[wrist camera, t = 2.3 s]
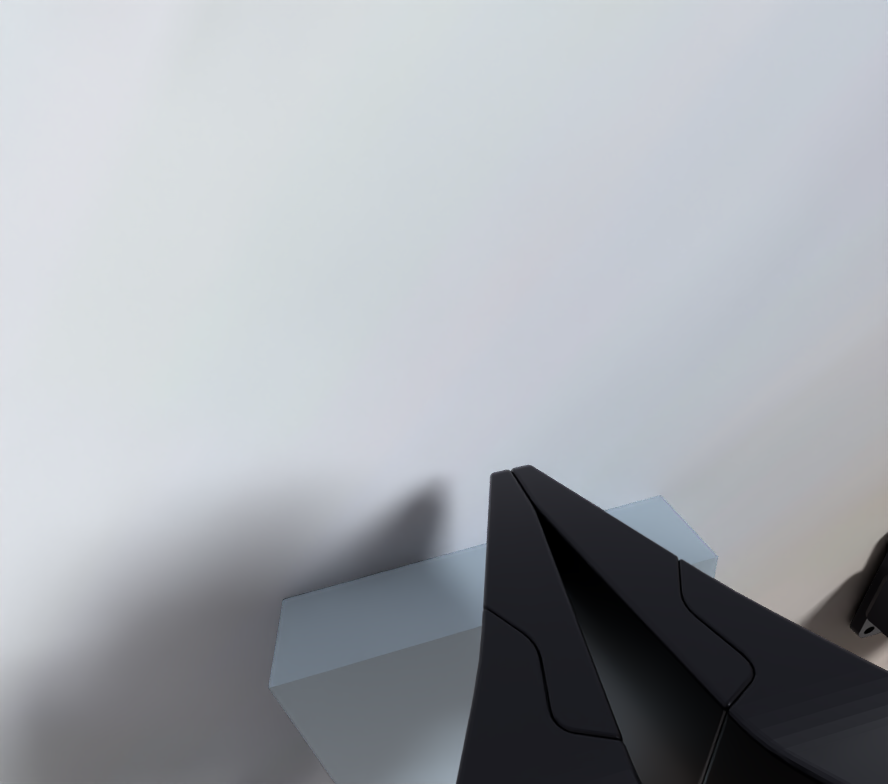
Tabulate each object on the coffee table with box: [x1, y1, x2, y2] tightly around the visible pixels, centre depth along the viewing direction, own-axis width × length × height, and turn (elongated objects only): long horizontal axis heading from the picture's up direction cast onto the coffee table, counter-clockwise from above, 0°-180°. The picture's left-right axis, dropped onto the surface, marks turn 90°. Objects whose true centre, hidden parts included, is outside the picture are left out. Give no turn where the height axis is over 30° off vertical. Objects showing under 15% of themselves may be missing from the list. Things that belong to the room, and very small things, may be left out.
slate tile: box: [268, 495, 718, 784], centre depth 17 cm, size 12×18×3 cm, turn 11°
